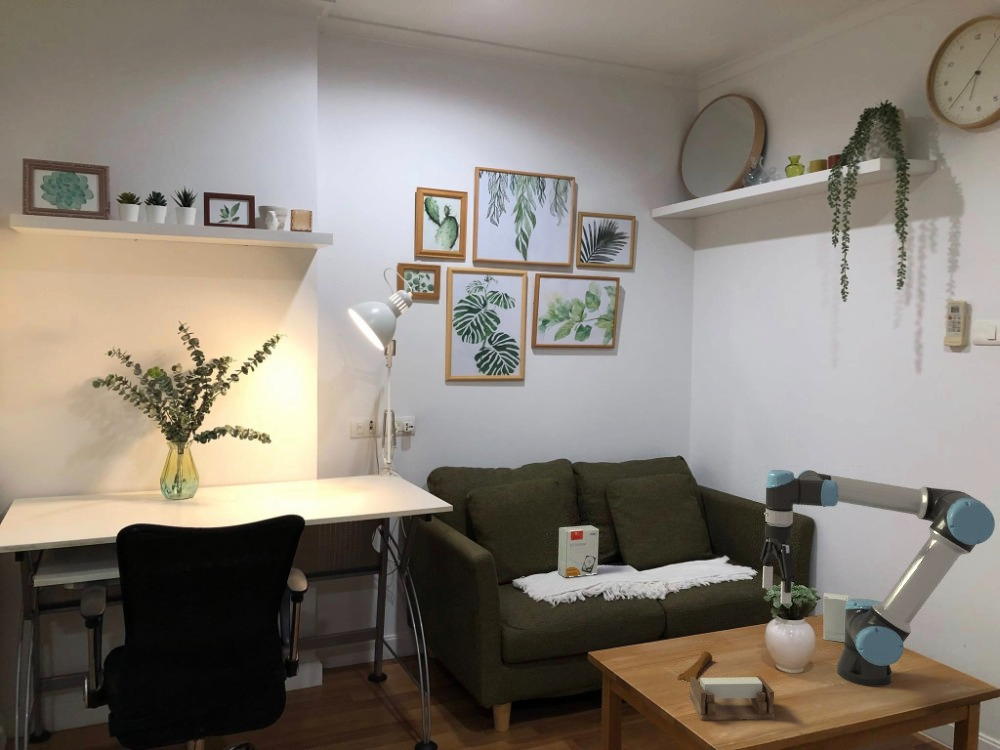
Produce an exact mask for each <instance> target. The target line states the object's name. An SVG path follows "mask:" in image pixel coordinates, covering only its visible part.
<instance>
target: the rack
mask: <svg viewBox="0 0 1000 750" xmlns="http://www.w3.org/2000/svg"><path fill="white" fill-rule="evenodd" d="M755 677H757V678H758V679H759V680H760V681H761V682H762V692H757V698H714V693H706V699H705V691H704V690H703V689H702V687H701V686H700V681H698V679H696V678H695V677H690V683H689V695H688V701H689V702H691V703H690V704H691V706H692V707H693V709H694V711H695V712H696V714H697V715H698V718H699V719H700V720H701V721H734V720H737V719H739V720H740V721H741V719H747V720H775V719H776V715H775V714H774V710H775V709H774V707H775V705H774V704H775V691H774V690H773V689H772V688H771V687H770V685H769V684H768V683H767V682H766V681H765V680H764V678H763V677H762V676H760V675H756V676H755ZM739 720H738V721H739Z"/></svg>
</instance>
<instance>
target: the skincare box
mask: <svg viewBox="0 0 1000 750" xmlns="http://www.w3.org/2000/svg"><path fill="white" fill-rule="evenodd" d="M822 599H823V600H822V601H823V605H822V609H823V610H822V611H823V612H822V614H823V615H822V616H823V619H822V621H823V629H822V630H823V631H822V632H823V633H822V634H823V640H824V641H833V642H838V643H839V642H840V643H844V641H845V612H846V610H845V608H846V602H847V601H848V600H849V599H850V595H849V594H842V593H841V594H840V593H839V594H838V593H828V592H823V598H822Z"/></svg>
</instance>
